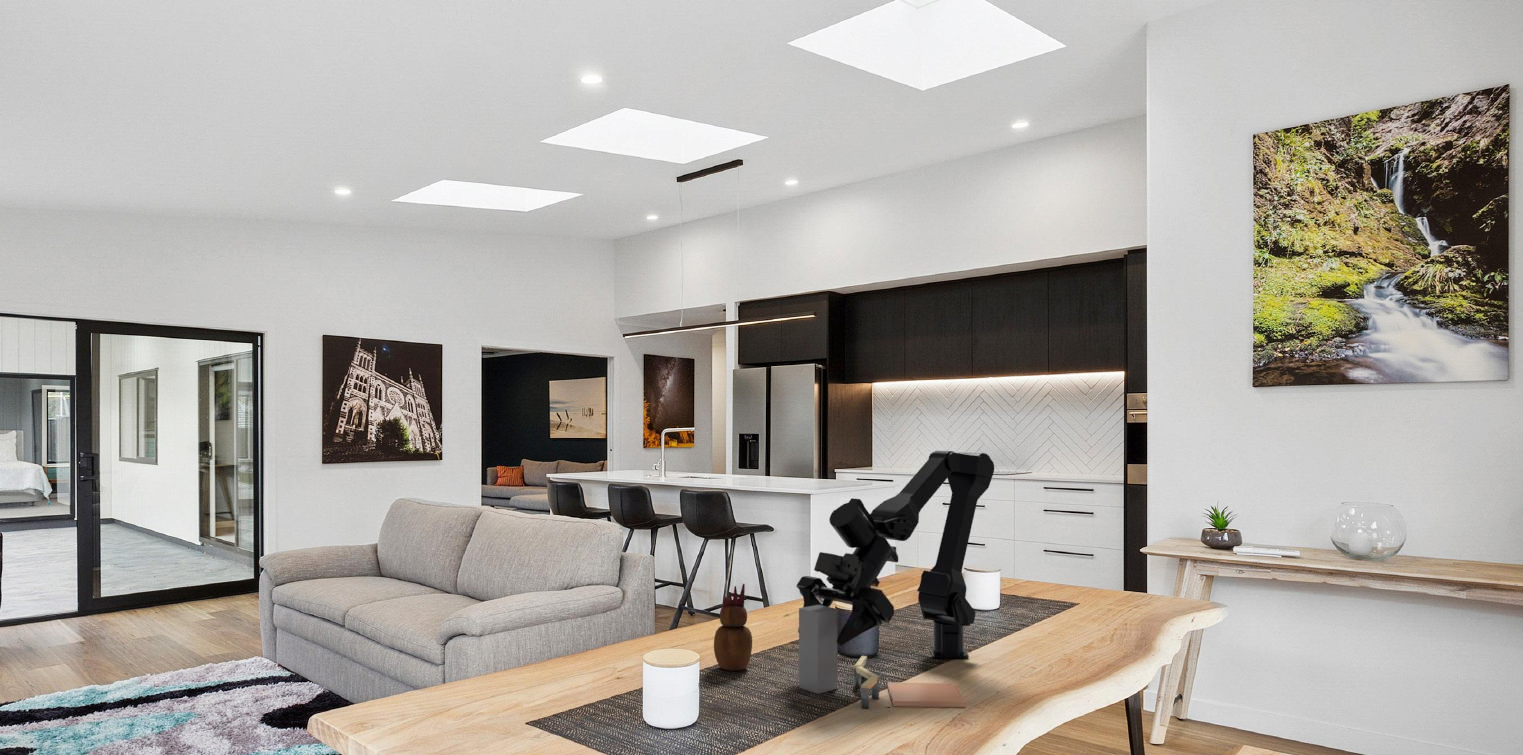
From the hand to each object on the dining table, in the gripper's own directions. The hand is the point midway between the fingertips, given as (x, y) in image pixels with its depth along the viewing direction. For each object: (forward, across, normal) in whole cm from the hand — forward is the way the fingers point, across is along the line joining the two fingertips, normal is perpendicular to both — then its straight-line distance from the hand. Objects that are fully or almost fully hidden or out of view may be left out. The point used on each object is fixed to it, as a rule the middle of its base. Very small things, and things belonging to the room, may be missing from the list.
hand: (818, 638), depth 149 cm
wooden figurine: (+8, -18, +3) cm, 20 cm away
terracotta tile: (-1, +14, +12) cm, 19 cm away
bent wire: (+2, +6, +9) cm, 11 cm away
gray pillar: (+6, 0, +6) cm, 8 cm away
